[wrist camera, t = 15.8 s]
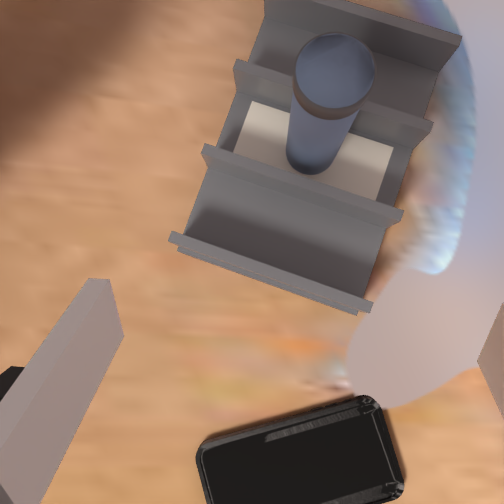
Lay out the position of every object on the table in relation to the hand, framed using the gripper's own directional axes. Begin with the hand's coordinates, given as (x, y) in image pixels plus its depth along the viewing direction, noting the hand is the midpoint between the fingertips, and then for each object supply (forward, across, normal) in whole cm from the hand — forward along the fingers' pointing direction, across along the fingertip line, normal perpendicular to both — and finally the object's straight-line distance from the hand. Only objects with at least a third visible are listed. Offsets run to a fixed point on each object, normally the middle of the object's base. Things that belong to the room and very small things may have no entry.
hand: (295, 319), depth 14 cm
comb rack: (+22, +1, -3) cm, 23 cm away
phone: (+7, +1, -22) cm, 24 cm away
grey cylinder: (+21, +1, -2) cm, 21 cm away
